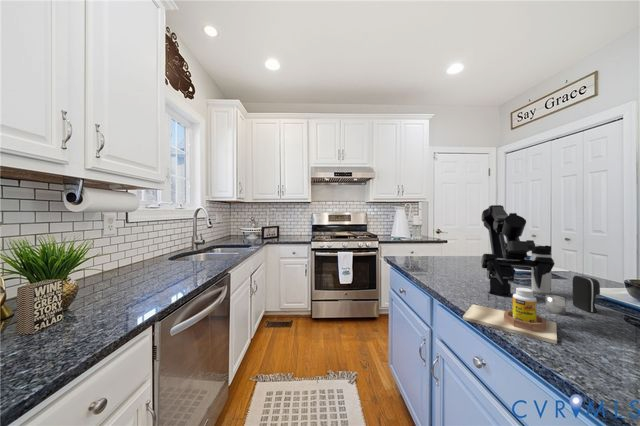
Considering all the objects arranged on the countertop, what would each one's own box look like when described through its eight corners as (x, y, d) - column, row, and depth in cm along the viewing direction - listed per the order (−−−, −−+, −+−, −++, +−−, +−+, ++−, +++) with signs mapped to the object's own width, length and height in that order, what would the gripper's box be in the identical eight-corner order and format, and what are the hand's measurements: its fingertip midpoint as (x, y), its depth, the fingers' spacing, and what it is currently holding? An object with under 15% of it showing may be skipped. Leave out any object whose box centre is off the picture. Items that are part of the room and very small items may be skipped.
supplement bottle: (511, 323, 75) (511, 289, 75) (513, 317, 79) (513, 285, 79) (536, 329, 71) (536, 293, 71) (536, 322, 75) (536, 289, 75)
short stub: (544, 311, 86) (544, 297, 86) (546, 307, 89) (546, 293, 89) (565, 316, 82) (564, 301, 82) (566, 311, 85) (566, 297, 85)
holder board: (462, 319, 80) (462, 310, 80) (472, 306, 90) (472, 298, 90) (556, 344, 65) (556, 332, 65) (556, 325, 75) (556, 315, 75)
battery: (602, 313, 84) (602, 279, 84) (589, 313, 84) (589, 279, 84) (583, 305, 91) (583, 274, 90) (571, 305, 91) (571, 274, 91)
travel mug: (556, 295, 101) (556, 246, 101) (540, 295, 101) (540, 246, 101) (543, 290, 107) (543, 244, 107) (527, 290, 108) (527, 244, 107)
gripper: (482, 230, 87) (488, 269, 77) (552, 232, 79) (568, 275, 69) (479, 249, 94) (484, 286, 84) (542, 252, 86) (556, 294, 76)
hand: (520, 285), depth 78 cm, fingers open, 9 cm apart
